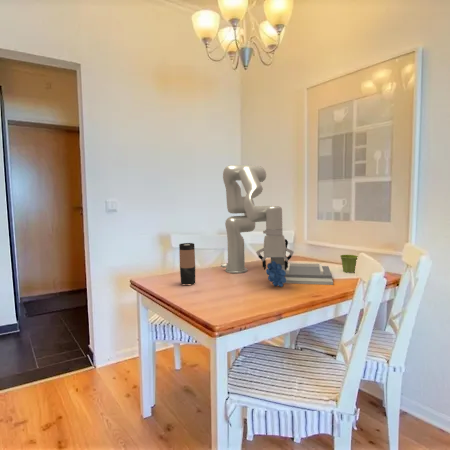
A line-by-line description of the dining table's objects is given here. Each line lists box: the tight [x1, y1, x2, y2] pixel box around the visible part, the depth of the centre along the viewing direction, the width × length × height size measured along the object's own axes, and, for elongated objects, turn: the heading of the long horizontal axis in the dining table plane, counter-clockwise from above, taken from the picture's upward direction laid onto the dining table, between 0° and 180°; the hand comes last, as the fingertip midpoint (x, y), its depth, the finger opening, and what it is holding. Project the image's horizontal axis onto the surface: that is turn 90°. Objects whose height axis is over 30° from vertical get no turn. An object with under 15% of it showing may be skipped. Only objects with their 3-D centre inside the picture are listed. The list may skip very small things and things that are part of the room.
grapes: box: [265, 261, 286, 288], centre depth 160 cm, size 12×7×12 cm, turn 42°
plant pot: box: [339, 254, 359, 273], centre depth 187 cm, size 9×9×9 cm
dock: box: [281, 262, 334, 286], centre depth 178 cm, size 26×28×5 cm
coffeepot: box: [269, 238, 289, 265], centre depth 207 cm, size 15×9×18 cm, turn 126°
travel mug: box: [178, 242, 196, 285], centre depth 169 cm, size 8×8×20 cm
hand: (275, 269), depth 159 cm, fingers open, 9 cm apart
